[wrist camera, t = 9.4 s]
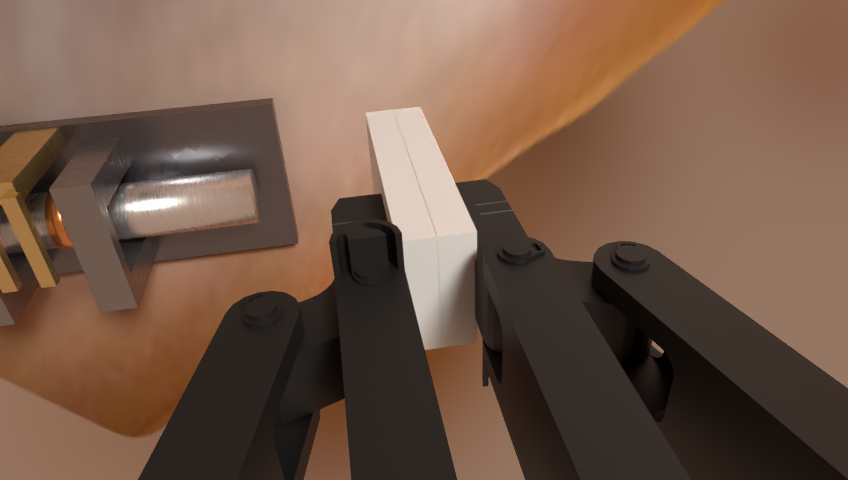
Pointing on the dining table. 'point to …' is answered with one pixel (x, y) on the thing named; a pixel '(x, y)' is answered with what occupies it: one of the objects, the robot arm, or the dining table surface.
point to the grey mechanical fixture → (141, 161)
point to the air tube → (153, 208)
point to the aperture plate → (8, 186)
